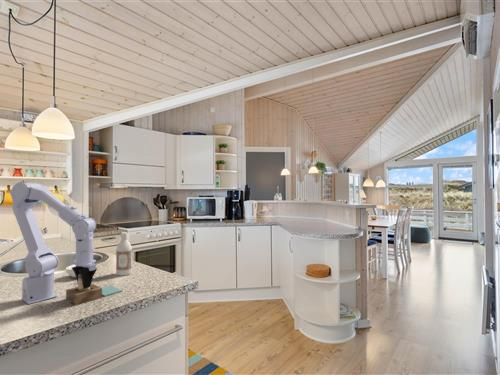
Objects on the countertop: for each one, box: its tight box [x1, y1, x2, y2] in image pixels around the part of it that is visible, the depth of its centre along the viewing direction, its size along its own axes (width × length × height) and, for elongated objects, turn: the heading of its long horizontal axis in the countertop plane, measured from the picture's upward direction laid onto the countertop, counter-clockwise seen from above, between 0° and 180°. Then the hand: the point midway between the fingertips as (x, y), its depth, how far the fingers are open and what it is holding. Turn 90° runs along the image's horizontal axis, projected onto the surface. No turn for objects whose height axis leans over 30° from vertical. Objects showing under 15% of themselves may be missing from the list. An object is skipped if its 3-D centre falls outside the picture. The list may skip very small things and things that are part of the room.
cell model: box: [65, 264, 77, 279], centre depth 135 cm, size 10×12×7 cm
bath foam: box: [115, 231, 133, 277], centre depth 140 cm, size 7×7×20 cm
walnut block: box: [65, 282, 103, 306], centre depth 108 cm, size 9×9×4 cm
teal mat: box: [101, 285, 123, 298], centre depth 115 cm, size 7×9×1 cm
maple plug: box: [77, 274, 90, 292], centre depth 108 cm, size 4×4×9 cm
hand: (84, 286), depth 108 cm, fingers closed on maple plug, 4 cm apart
